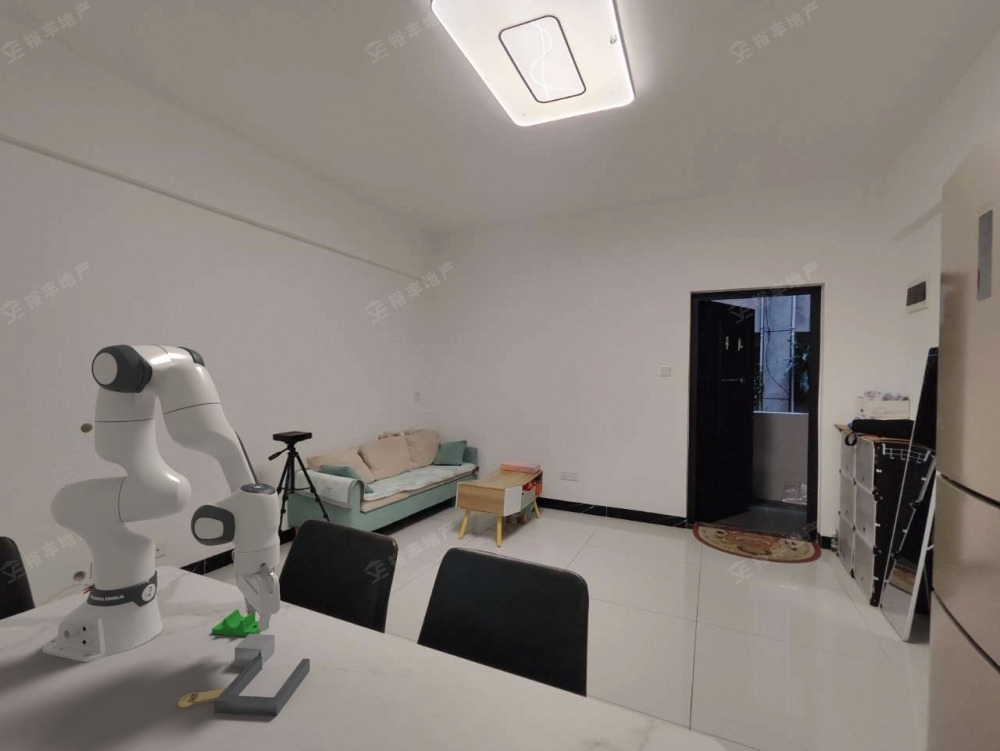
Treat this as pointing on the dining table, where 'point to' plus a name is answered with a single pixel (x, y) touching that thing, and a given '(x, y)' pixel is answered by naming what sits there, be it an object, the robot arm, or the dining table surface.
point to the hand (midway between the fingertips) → (257, 620)
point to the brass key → (199, 698)
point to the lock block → (254, 649)
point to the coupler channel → (253, 704)
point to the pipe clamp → (237, 625)
